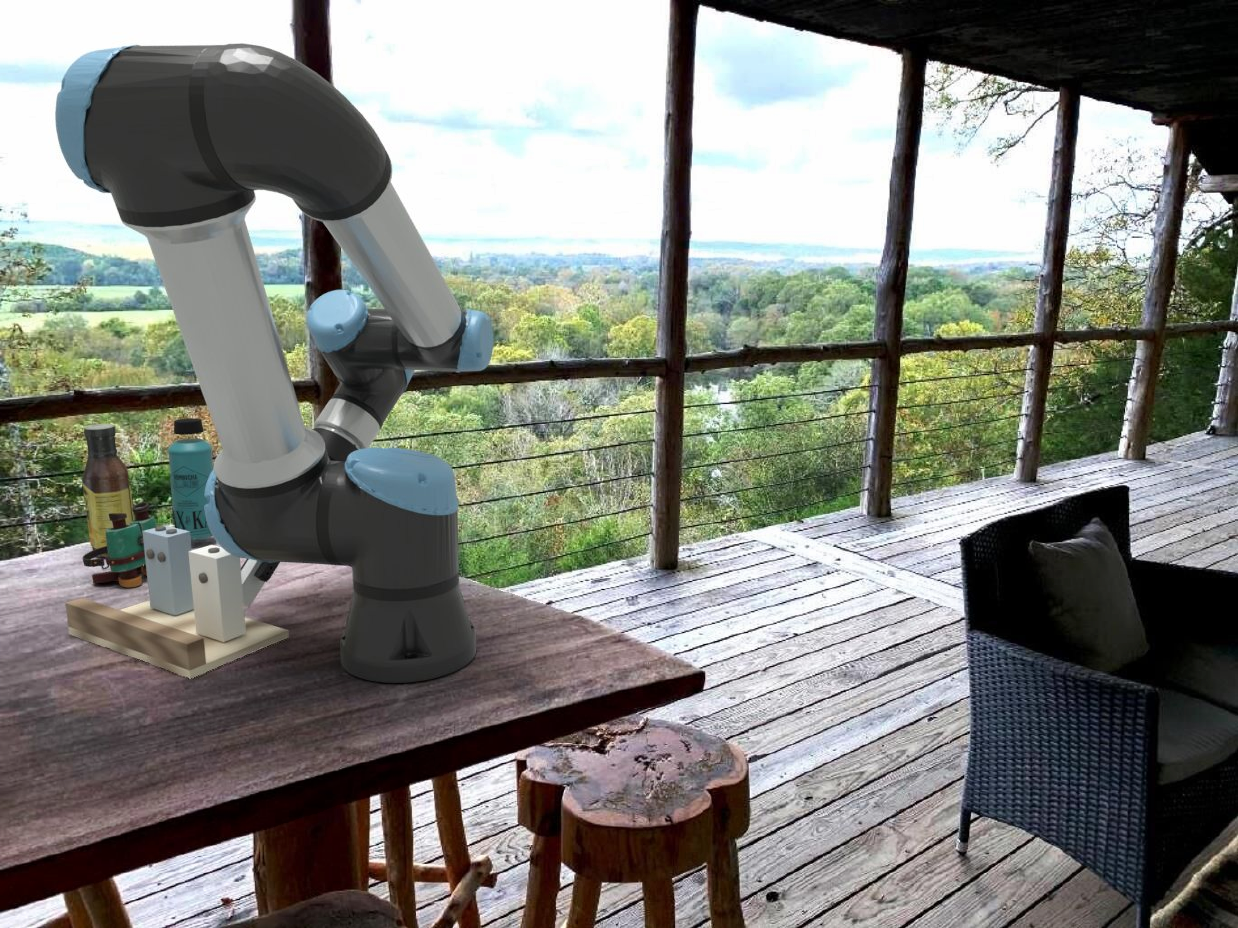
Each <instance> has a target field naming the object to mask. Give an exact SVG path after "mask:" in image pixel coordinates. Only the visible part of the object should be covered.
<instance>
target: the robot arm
mask: <svg viewBox="0 0 1238 928" xmlns="http://www.w3.org/2000/svg"><path fill="white" fill-rule="evenodd" d="M60 87H61V88H60V91H59V92H58V93H57V95H56V102H55V113H54V114H55V117H54V118H55V119H54V120H55V129H56V135H57V139H58V140H57V141H58V144H59V148H60V150H61V153H62V156H63V159H64V160H65V162H66V165H67V166H68V168H69V170H71V172H72V174H74V176H75V177H76V178H77V179H79V180H82V181H83V184H84V185H86V186H87V187H88V188H91V189H93V190H96V191H98V192H100V193H101V194H110V195H111V197H112V199H113V200H112V201H113V203H114V205H115V207H116V209H117V213H118V215H119V219H120V220H121V223H122V224H123V225H124V226H126V227H127V228H130V229H131V230H133V231H135V232H137V233H139V234H141V235H143V236H145V238H146V239H147V241H148V245H149V246H150V250H151V253H152V256H153V258H154V262H155V264H156V268H157V269H158V270H157V271H158V273H159V276H160V278H161V280H162V283H163V287H164V289H165V291H166V295H167V297H168V300H169V303H170V306H171V309H172V311H173V314H174V317H175V320H176V322H177V325H178V329H179V331H180V334H181V337H182V339H183V343H184V346H185V347H186V350H187V354H188V356H189V359H190V361H191V364H192V368H193V370H194V373H195V376H196V379H197V381H198V385H199V387H200V390H201V393H202V396H203V398H204V401H205V404H206V407H207V409H208V411H209V412H208V413H209V415H210V418H211V420H212V423H213V426H214V429H215V431H216V435H217V437H218V441H219V443H220V446H221V448H222V449H221V451H220V452H219V453H218V455H216V457H215V459H214V462H213V471H212V472H211V473H210V476H209V478H208V481H207V483H206V488H205V494H204V496H205V497H206V498H207V500H208V503H207V504H206V505H205V506H204V510H205V516H206V521H207V524H208V527H209V529H210V532H211V534H212V535H213V536H212V537H213V539H214V540H215V542H216V543H217V544H218V545H219V547H222V548H223V549H224V550H225V551H227V552H228V553H230V554H231V555H234V556H236V557H239V558H240V559H245V561H244V563H243V564H242V566H241V577H242V590H243V602H244V608H248V609H250V607H251V606H252V604H254V603H253V602H254V601H255V599H256V598H257V596H258V595H259V593H260V591H261V589H262V588H263V587H264V584H265V583H268V582H269V580H270V579H271V578H272V577H273V574H274V573H275V571H276V570H277V568H278V566H279V565H280V563H292V564H312V565H313V564H314V565H328V566H342V567H351V573H352V585H353V586H352V589H353V591H352V592H353V593H352V600H351V603H350V607H349V611H348V614H347V617H346V624H345V630H344V631H343V633H342V635H341V638H340V641H339V652H340V664H341V666H342V668H343V669H344V670H345V671H346V672H347V673H348V674H350V675H352V676H354V677H356V678H360V679H363V680H366V681H370V682H371V681H372V682H379V683H385V684H386V683H391V684H392V683H394V684H400V683H401V684H402V683H404V684H405V683H414V682H415V683H416V682H421V681H427V680H432V679H436V678H439V677H443V676H447V675H449V674H452V673H454V672H456V671H458V670H461V669H462V668H464V667H465V666H467V665H468V664H469V663H471V661H472V660H473V659H474V657H476V654H477V631H476V629H475V626H474V624H473V622H472V621H471V620H470V617H469V614H468V610H467V607H466V603H465V600H464V596H463V595H462V591H461V588H460V575H459V574H460V573H459V571H460V568H459V567H460V564H459V563H460V562H459V561H460V560H459V559H460V558H459V557H460V556H459V521H458V519H459V516H458V514H459V513H458V512H459V511H458V510H459V503H460V502H459V498H458V496H457V485H456V476H455V472H454V470H453V468H452V467H451V465H450V464H449V463H448V462H446V461H444V460H443V459H442V458H440V457H438V456H436V455H433V454H431V453H427V452H424V451H419V450H414V449H408V448H399V447H386V448H382V447H371V446H372V443H373V442H374V440H375V439H376V437H377V435H378V434H379V432H380V430H381V429H382V427H383V425H384V423H385V422H386V420H387V418H388V417H389V415H390V413H391V412H392V411H393V409H394V407H395V406H396V404H397V403H398V401H399V400H400V398H402V395H403V394H404V393H405V392H406V391H407V388H408V385H409V383H410V381H411V379H412V377H413V375H414V374H415V371H432V372H453V373H459V374H460V372H481V371H483V370H486V368H487V367H488V366H489V365H490V362H491V360H492V356H493V352H494V351H493V350H494V327H493V323H492V321H491V318H490V316H489V315H488V314H487V313H486V312H484V311H482V310H472V309H471V308H467V309H462V308H461V306H460V305H459V303H458V301H457V300H456V298H455V296H454V294H453V292H452V290H451V289H450V287H449V285H448V284H447V281H446V280H445V278H444V276H443V274H442V272H441V271H440V269H439V267H438V265H437V264H436V261H435V260H434V257H432V254H431V253H430V250H429V249H428V246H427V245H426V243H425V241H424V240H423V238H422V235H421V234H420V232H419V230H418V229H417V227H416V225H415V224H414V222H413V220H412V218H411V216H410V215H409V214H410V213H408V211H407V209H406V207H405V206H404V205H405V204H403V201H402V200H401V198H400V196H399V194H398V193H397V191H396V189H395V187H394V186H393V183H392V182H391V181H392V177H393V164H392V161H391V158H390V155H389V153H388V152H387V150H386V148H385V146H384V144H383V142H382V140H381V138H380V137H379V136H378V133H377V132H376V131H375V129H374V128H373V127H372V124H370V123H369V121H368V120H367V119H366V117H365V116H364V115H363V114H362V113H361V111H359V110H358V108H357V107H356V106H355V105H354V104H353V103H352V102H351V101H350V100H349V99H348V98H347V97H346V95H344V94H343V93H342V92H341V91H340V90H338V89H337V88H336V87H335V86H334V85H333V84H331V83H330V82H329V81H328V80H326V79H325V78H324V77H322V76H321V75H320V74H318V72H316V71H315V70H313V69H311V68H309V67H308V66H306V65H305V64H304V63H302V62H300V61H299V60H297V59H295V58H293V57H290V56H288V55H287V54H284V53H282V52H280V51H277V50H275V49H272V48H269V47H265V46H263V45H257V44H249V43H228V44H209V45H208V44H206V45H205V44H204V45H203V44H198V45H193V44H191V45H139V44H132V45H127V46H126V45H122V46H120V47H111V48H103V49H95V50H93V51H89V52H87V53H85V54H82V55H81V56H79V57H78V58H77V59H76V60H75V61H73V63H72V64H71V65H70V66H69V67H68V69H67V70H66V72H65V73H64V75H63V78H62V80H61V86H60ZM255 191H267V192H273V193H278V194H280V195H283V196H286V197H288V198H290V199H292V200H293V202H294V203H295V205H296V206H297V207H298V209H299V210H300V211H301V212H302V213H303V214H304V215H305V216H307V217H309V218H310V219H312V220H316V221H318V222H322V223H323V225H324V226H325V227H326V228H327V230H328V231H329V233H330V235H331V236H332V237H333V239H334V240H335V242H336V243H337V244H338V246H339V247H340V249H341V250H342V252H343V253H344V254H345V255H346V257H347V259H349V261H350V263H351V264H352V265H353V267H354V268H355V270H356V271H357V272H358V274H359V275H360V276H361V278H362V279H363V280H364V282H365V283H366V285H367V286H368V287H369V289H370V290H371V292H372V293H373V294H374V296H375V297H376V299H377V300H378V302H379V303H380V304H381V306H382V307H383V308H368V305H367V303H366V302H365V301H364V300H363V299H362V298H361V296H359V295H358V294H357V293H354V292H352V291H350V290H348V289H346V290H345V289H335V290H331V291H328V292H326V293H323V294H322V295H321V296H319V297H318V298H316V299H315V300H314V301H313V303H311V304H310V306H309V309H308V311H307V312H306V317H305V318H306V319H305V321H306V326H307V327H306V328H307V329H308V331H309V333H310V335H311V337H312V338H313V341H314V346H315V347H316V349H317V350H318V351H319V352H320V354H321V355H322V356H323V358H324V360H325V361H326V362H327V365H328V366H329V368H330V369H331V371H332V372H333V374H334V375H335V377H336V378H337V380H338V382H339V385H338V386H337V388H336V389H335V392H334V393H333V395H332V396H331V398H330V399H329V400H328V402H327V404H326V405H325V406H324V408H323V409H322V411H321V412H320V414H319V415H318V417H317V418H316V420H315V421H314V423H313V427H314V428H310V427H306V425H305V423H304V419H303V416H302V413H301V408H300V405H299V401H298V398H297V395H296V391H295V388H294V384H293V380H292V378H291V375H290V374H291V373H290V371H289V367H288V364H287V360H286V357H285V353H284V351H283V347H282V344H281V340H280V337H279V332H278V329H277V327H276V322H275V319H274V316H273V313H272V309H271V305H270V302H269V298H268V295H267V292H266V288H265V285H264V282H263V278H262V275H261V271H260V268H259V264H258V260H257V257H256V254H255V250H254V247H253V243H252V241H251V236H250V233H249V231H248V227H247V222H246V220H245V219H246V215H247V214H248V213H249V211H250V209H251V208H252V207H253V206H254V203H255V202H256V199H257V196H256V193H255Z"/></svg>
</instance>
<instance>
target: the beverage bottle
mask: <svg viewBox="0 0 1238 928" xmlns="http://www.w3.org/2000/svg"><path fill="white" fill-rule="evenodd" d="M201 433H204V428H203V421H202V419H201V418H194V417H192V418H191V417H188V418H180V419H179V418H178V419H176V420H174V422H173V434H174V435H179V436H180V435H182V436H183V435H187V436H188V435H196V434H197V435H198V434H201ZM212 451H213V446H212V445H211V444H210V442H208V441H206V440H204V439H202V438H184V439H178V440H175V441H173V442H172V444H170V445H169V446H168V448H167V452H168V461H169V474H170V475H169V477H168V478H169V483H170V488H171V489H170V497H171V499H170V501H171V505H172V508H171V510H172V512H171V513H172V521H173V522H172V523H173V526H172V527H174V528H178V529H182V530H186V531H190V538H191V541H194V540H201V539H206V538H210V537H213V535H212V534H211V532H210V529H209V527H208V524H207V521H206V516H205V510H204V506H205V505H206V504H207V503H208V500H207V498H206V497H205V496H204V494H205V488H206V483H207V481H208V478H209V476H210V473H211V472H212V471H213V469H214V462H213V452H212Z"/></svg>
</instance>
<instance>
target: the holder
mask: <svg viewBox="0 0 1238 928" xmlns="http://www.w3.org/2000/svg"><path fill="white" fill-rule="evenodd" d="M65 610H66V612H65V613H66V618H67V626H68V628H67V629H68V634H69V635H70V636H73V637H76V638H79V639H81V640H84V641H86V642H89V643H92V644H94V643H95V645H97V646H99V645H100V646H99V647H102V648H105V647H108V648H110V649H113V650H115V651H114V652H116V651H117V652H116V653H118V652H120V653H119V654H121V653H122V655H124V654H125V655H124V656H126V655H128V656H127V657H129V656H132V657H135V658H137V659H140V660H143V661H145V662H149V663H151V664H153V665H156V666H160V667H162V668H165V669H166V670H165V671H167V670H169V671H171V672H170V673H172V672H174V673H173V674H175V673H177V674H178V676H180V675H182V676H181V677H183V676H185V677H184V678H186V677H188V678H189V680H192V679H194V677H195V678H196V676H197V677H199V676H202V675H204V674H206V672H207V671H209V670H211V671H213V670H212V669H214V668H216V667H217V666H221V665H223V664H225V663H226V662H229V661H231V660H234V659H236V658H238V657H240V656H244V655H246V654H248V653H251V652H252V651H255V650H257V649H259V648H261V647H266V648H268V647H267V646H269V645H271V644H274V643H276V642H278V641H281V640H283V639H286V638H288V639H289V638H290V635H289V634H290V633H289V629H286V628H284V627H283V628H282V627H278V626H275V625H273V624H270V623H269V624H268V623H266V622H262V621H259V620H257V619H252V618H249V617H246V616H245V626H246V634H243V635H241V636H238V637H236V638H233V639H231V640H228V641H226V642H222V641H219V640H216V639H213V638H209V637H206V636H203V635H200V634H197V633H196V627H195V616H194V609H193V610H190V611H187V612H184V613H181V614H178V615H172V614H169V613H166V612H162V611H159V610H156V609H153V608H150V599H149V600H146V601H141V602H140V603H137V604H134V605H131V606H127V607H125V608H121V609H117V608H115V607H111V606H108V605H106V604H104V603H99V602H96V601H93V600H90V599H87V598H84V597H80V598H77V599H73V600H70V601H66V602H65ZM286 640H287V639H286ZM283 641H284V640H283ZM281 642H282V641H281ZM278 643H279V642H278ZM276 644H277V643H276ZM274 645H275V644H274ZM271 646H272V645H271ZM269 647H270V646H269ZM110 649H109V650H110ZM113 650H112V651H113ZM132 657H131V658H132ZM137 659H136V660H137ZM140 660H139V661H140ZM145 662H144V663H145ZM151 664H150V665H151ZM153 665H152V666H153ZM156 666H155V667H156ZM223 666H224V665H223ZM221 667H222V666H221ZM216 669H217V668H216ZM214 670H215V669H214ZM169 671H168V672H169ZM209 672H210V671H209ZM207 673H208V672H207ZM177 674H176V675H177ZM198 675H199V676H198ZM188 678H187V679H188ZM191 678H192V679H191Z"/></svg>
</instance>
